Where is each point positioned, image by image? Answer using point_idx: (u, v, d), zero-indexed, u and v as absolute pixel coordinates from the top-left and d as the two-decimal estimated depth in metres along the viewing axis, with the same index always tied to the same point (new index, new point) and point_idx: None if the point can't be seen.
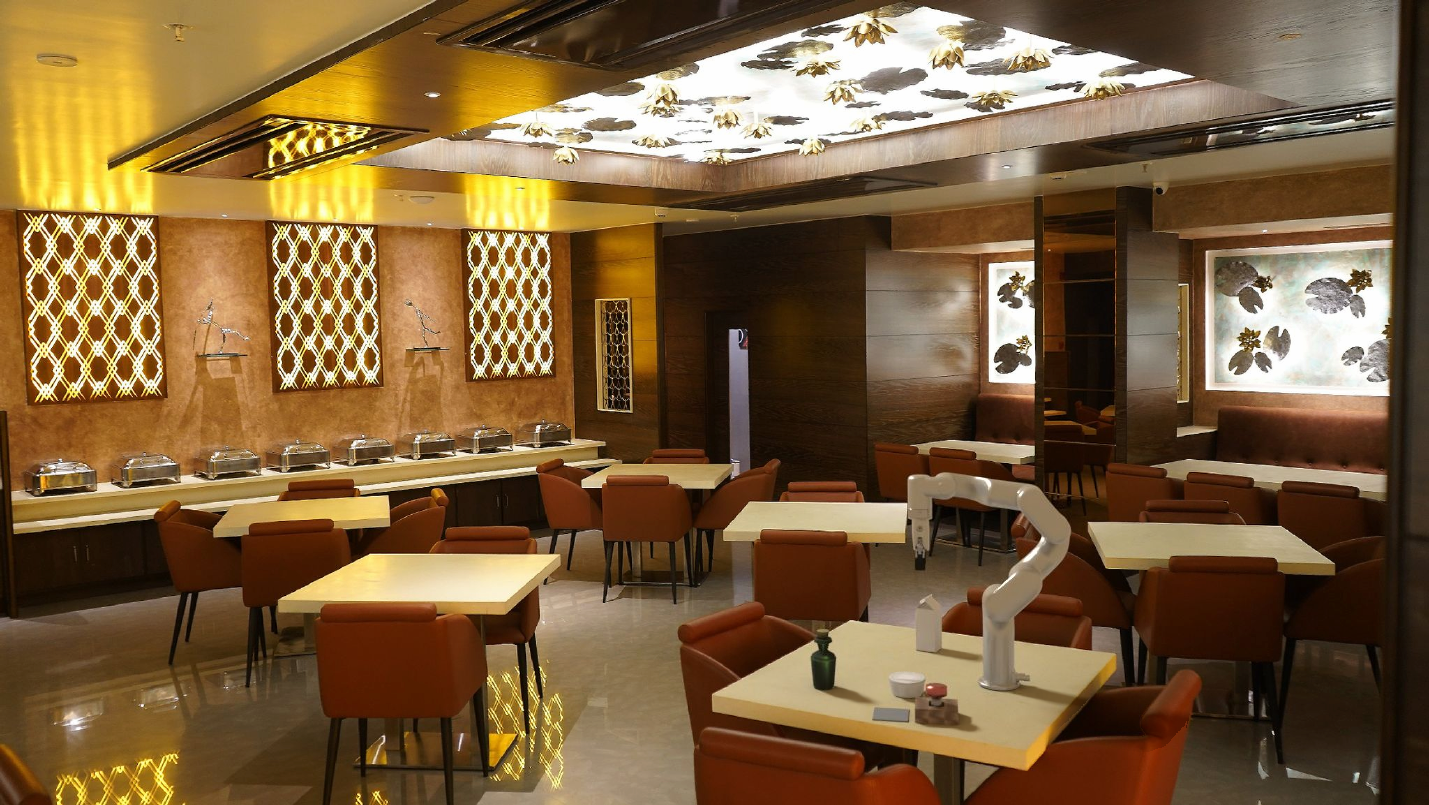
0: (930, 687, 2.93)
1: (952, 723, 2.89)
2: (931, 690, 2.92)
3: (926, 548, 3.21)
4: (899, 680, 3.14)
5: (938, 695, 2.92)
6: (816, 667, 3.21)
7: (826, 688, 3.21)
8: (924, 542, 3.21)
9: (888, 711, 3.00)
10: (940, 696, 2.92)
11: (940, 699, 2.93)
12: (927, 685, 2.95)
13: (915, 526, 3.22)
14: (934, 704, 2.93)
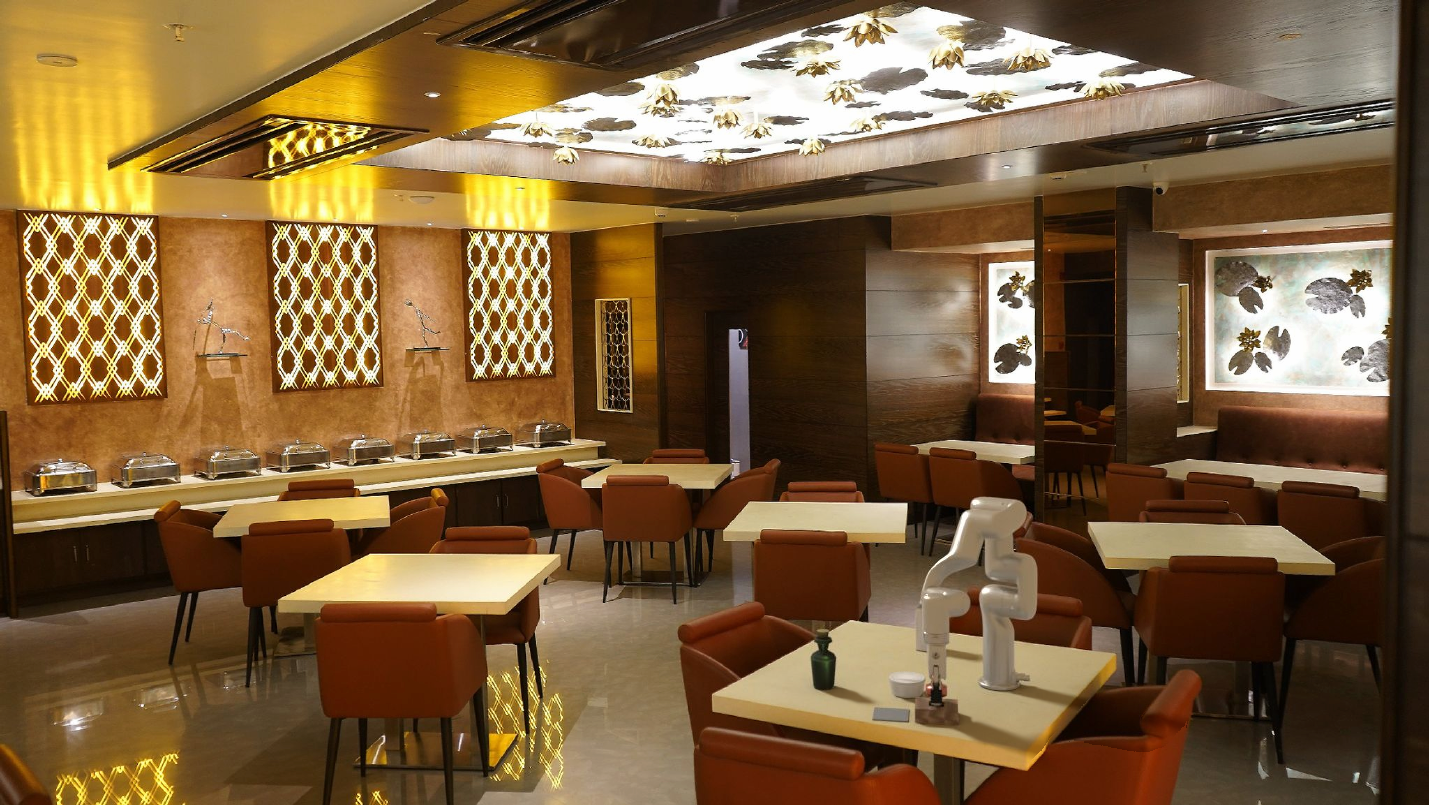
0: (930, 687, 2.93)
1: (952, 723, 2.89)
2: None
3: (943, 677, 2.89)
4: (899, 680, 3.14)
5: None
6: (816, 667, 3.21)
7: (826, 688, 3.21)
8: (940, 671, 2.89)
9: (888, 711, 3.00)
10: None
11: None
12: (927, 685, 2.95)
13: (931, 653, 2.90)
14: (934, 704, 2.93)
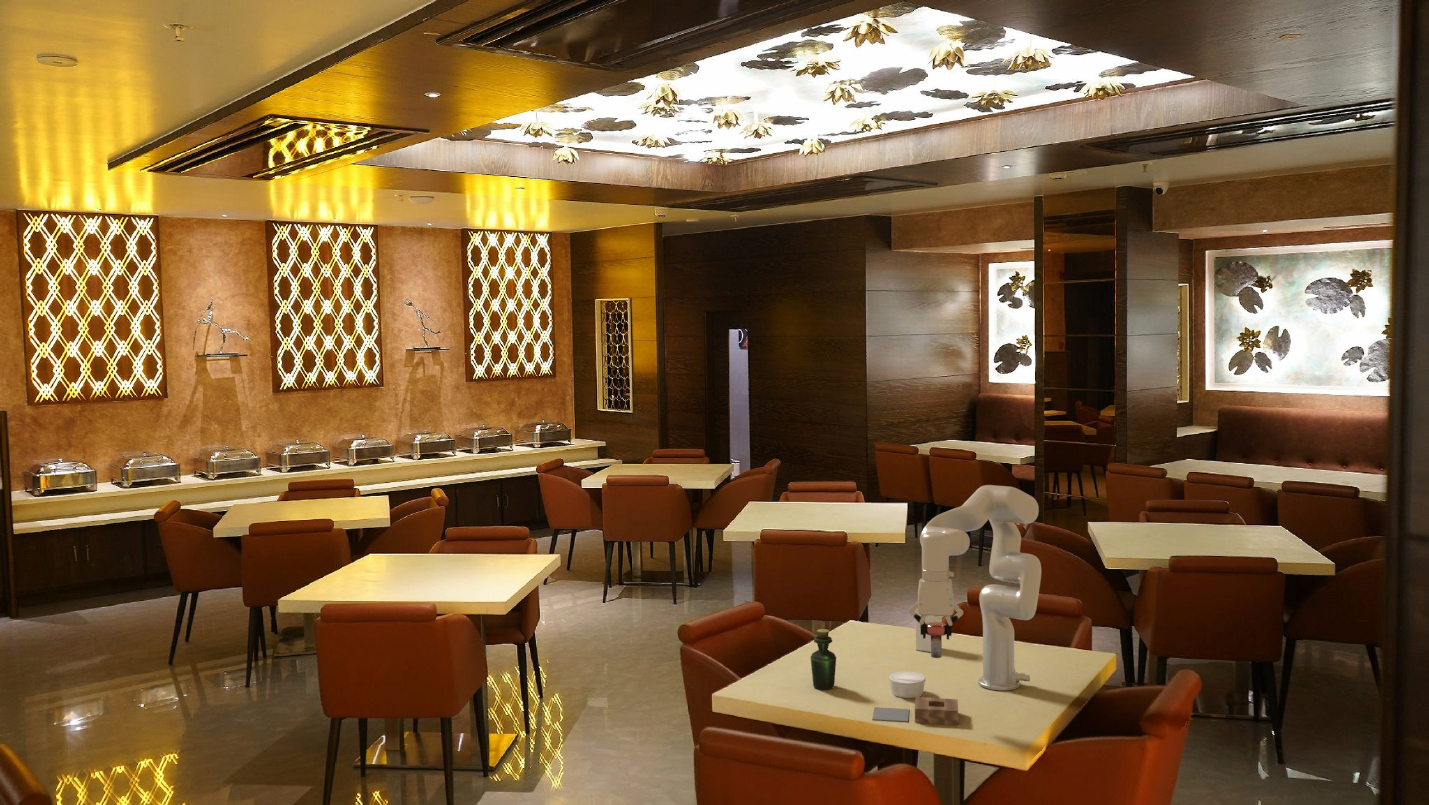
0: (942, 626, 2.92)
1: (952, 723, 2.89)
2: (945, 627, 2.92)
3: None
4: (899, 680, 3.14)
5: None
6: (816, 667, 3.21)
7: (826, 688, 3.21)
8: None
9: (888, 711, 3.00)
10: None
11: None
12: (935, 627, 2.91)
13: (951, 588, 2.91)
14: None
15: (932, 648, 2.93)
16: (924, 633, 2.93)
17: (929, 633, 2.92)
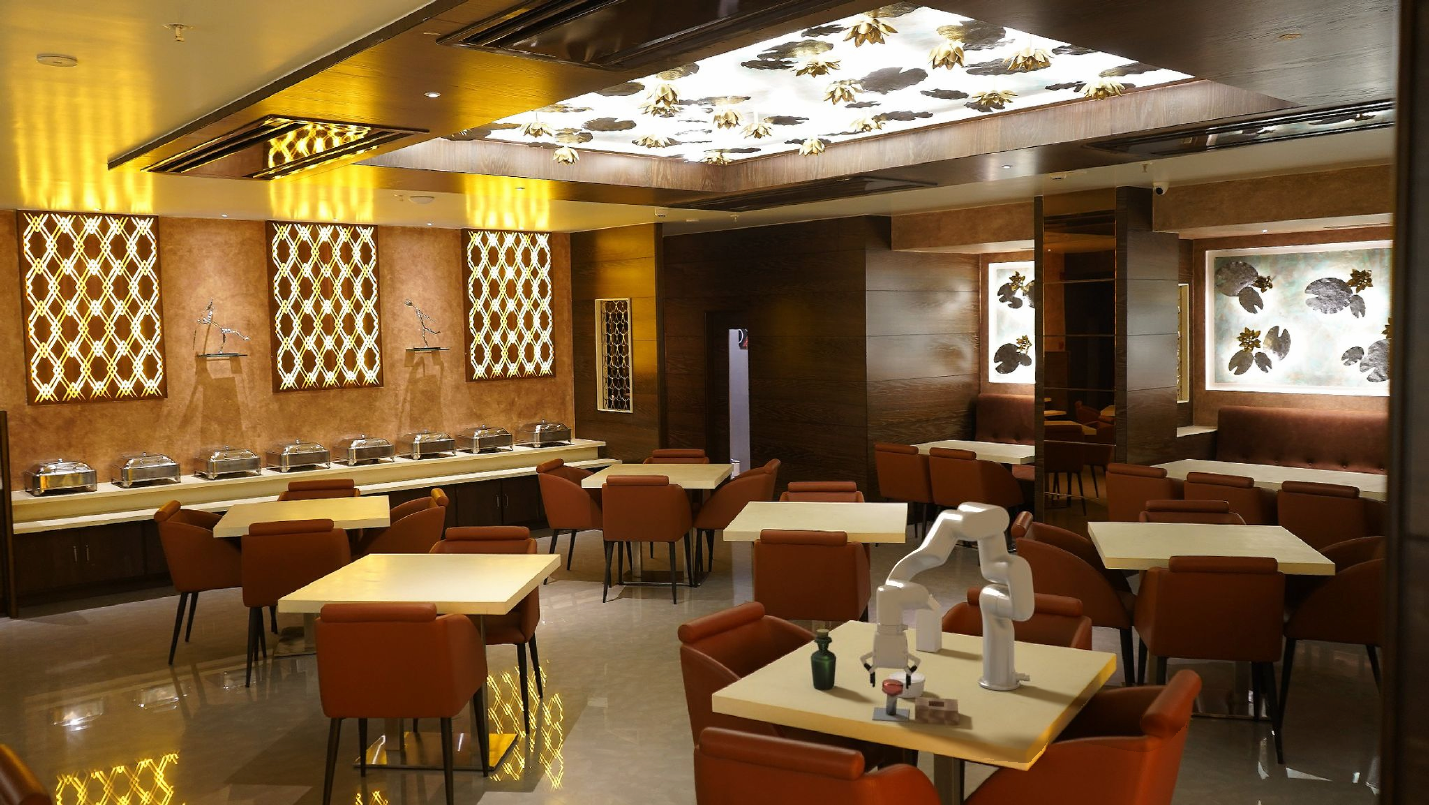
0: (898, 686, 2.95)
1: (952, 723, 2.89)
2: (902, 687, 2.95)
3: None
4: (899, 680, 3.14)
5: None
6: (816, 667, 3.21)
7: (826, 688, 3.21)
8: None
9: None
10: None
11: None
12: (891, 686, 2.94)
13: (905, 641, 2.94)
14: (896, 700, 2.96)
15: (887, 705, 2.97)
16: (873, 682, 2.97)
17: (885, 692, 2.95)
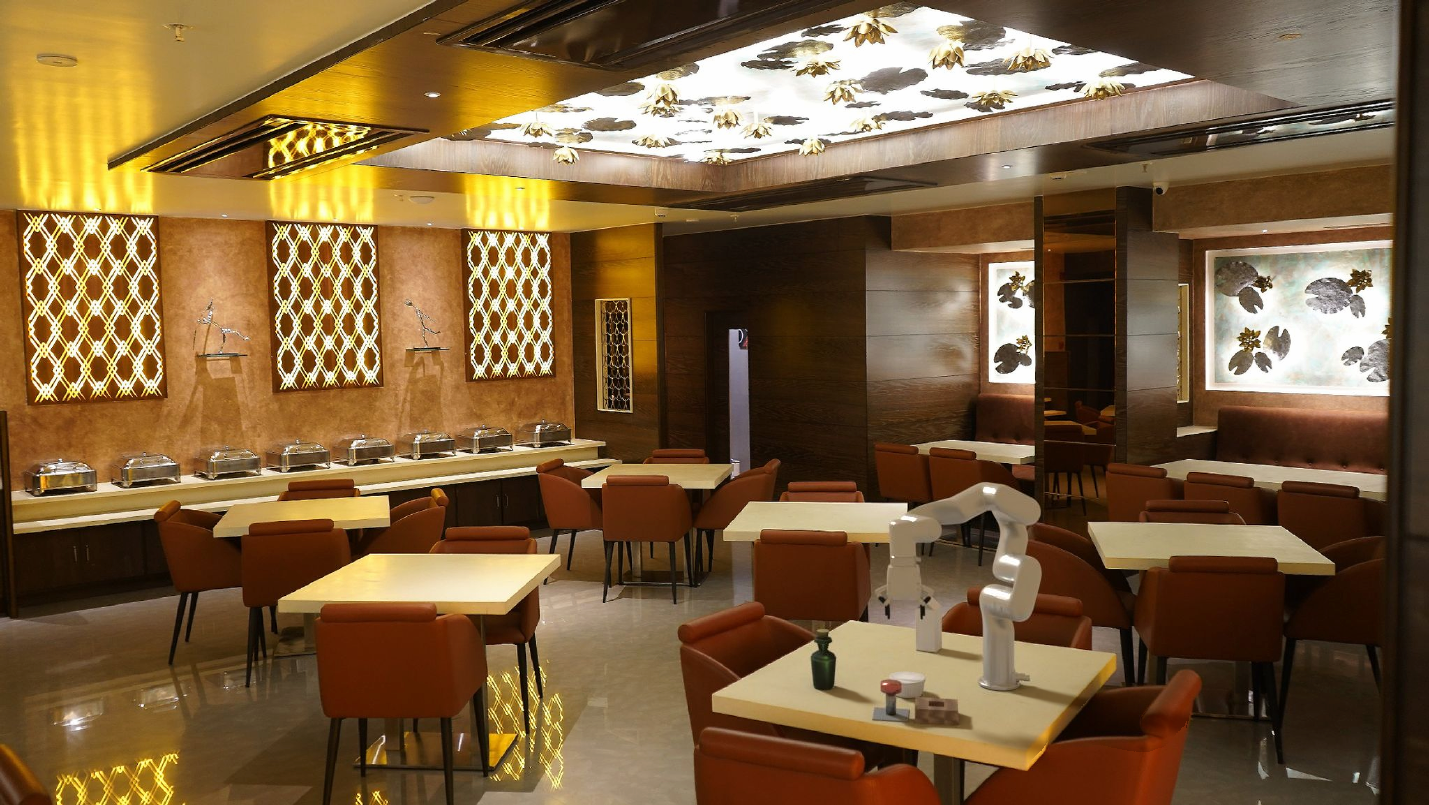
0: (896, 685, 2.95)
1: (952, 723, 2.89)
2: (900, 685, 2.95)
3: None
4: (899, 680, 3.14)
5: None
6: (816, 667, 3.21)
7: (826, 688, 3.21)
8: None
9: None
10: None
11: None
12: (889, 685, 2.95)
13: (919, 573, 3.01)
14: (895, 700, 2.97)
15: (887, 706, 2.97)
16: (888, 614, 3.04)
17: (884, 691, 2.95)
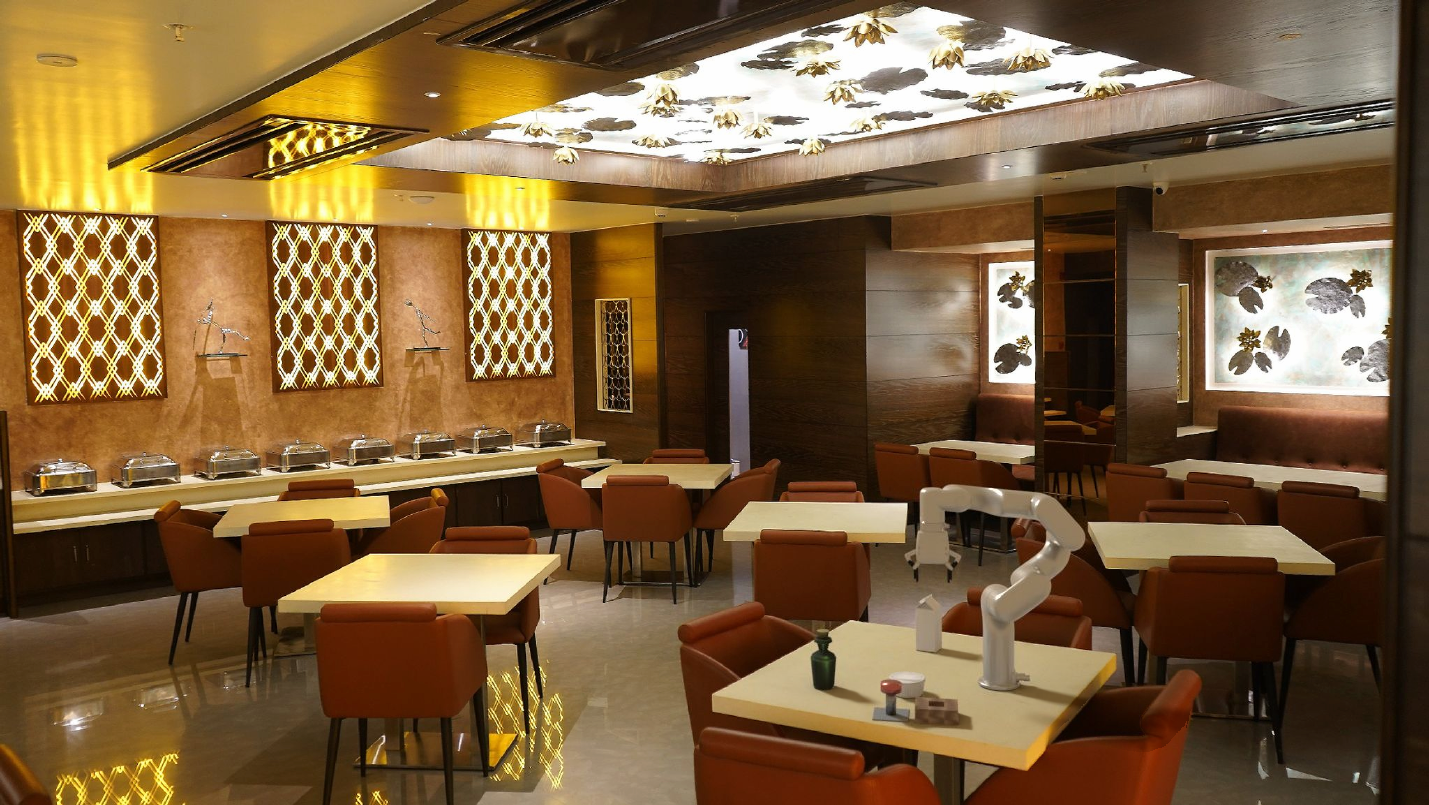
0: (897, 685, 2.95)
1: (952, 723, 2.89)
2: (900, 686, 2.95)
3: None
4: (899, 680, 3.14)
5: None
6: (816, 667, 3.21)
7: (826, 688, 3.21)
8: None
9: None
10: None
11: None
12: (890, 685, 2.95)
13: (947, 539, 3.18)
14: (895, 700, 2.97)
15: (887, 706, 2.97)
16: (917, 577, 3.20)
17: (884, 691, 2.95)
